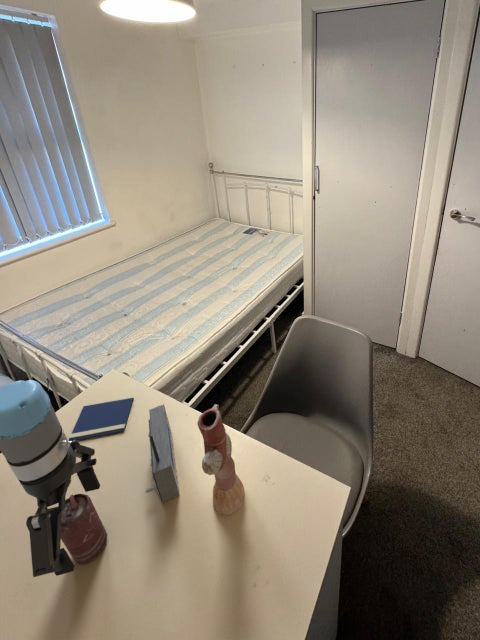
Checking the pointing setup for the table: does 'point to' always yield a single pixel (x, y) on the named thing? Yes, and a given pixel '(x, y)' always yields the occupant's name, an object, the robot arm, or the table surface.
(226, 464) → the vase
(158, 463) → the electronic device
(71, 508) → the can
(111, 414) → the book
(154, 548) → the table surface
